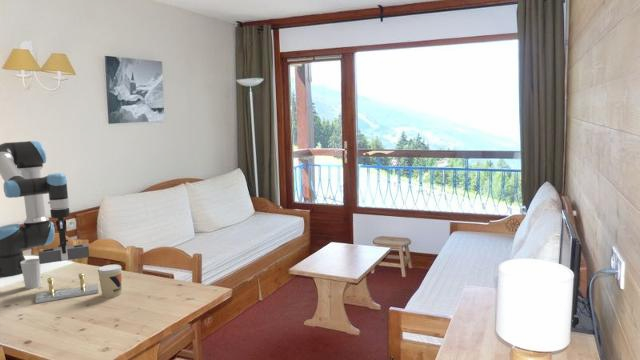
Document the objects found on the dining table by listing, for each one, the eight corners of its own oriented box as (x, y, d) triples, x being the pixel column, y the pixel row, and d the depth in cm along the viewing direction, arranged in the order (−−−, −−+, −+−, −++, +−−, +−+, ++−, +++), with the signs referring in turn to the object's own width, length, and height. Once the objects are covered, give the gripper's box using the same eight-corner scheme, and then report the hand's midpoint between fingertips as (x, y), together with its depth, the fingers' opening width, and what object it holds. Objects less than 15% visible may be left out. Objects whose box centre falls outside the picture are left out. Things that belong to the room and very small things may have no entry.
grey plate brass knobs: (35, 303, 211) (33, 283, 210) (36, 297, 218) (34, 278, 217) (98, 292, 221) (96, 274, 220) (97, 287, 229) (95, 269, 227)
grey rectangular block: (39, 264, 223) (38, 251, 223) (40, 260, 229) (38, 248, 228) (89, 256, 232) (88, 245, 231) (88, 253, 237) (87, 242, 237)
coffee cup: (115, 298, 213) (112, 271, 212) (95, 297, 215) (92, 270, 214) (128, 291, 222) (125, 264, 221) (108, 290, 224) (106, 263, 223)
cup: (46, 283, 236) (44, 258, 235) (35, 289, 228) (32, 263, 227) (30, 283, 237) (28, 258, 235) (19, 289, 229) (16, 263, 227)
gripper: (50, 205, 234) (55, 254, 237) (49, 212, 217) (55, 265, 220) (68, 204, 237) (73, 252, 240) (69, 210, 220) (74, 262, 224)
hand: (64, 258), depth 230 cm, fingers closed on grey rectangular block, 6 cm apart
